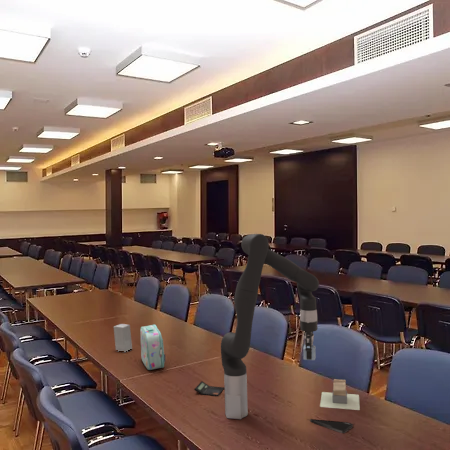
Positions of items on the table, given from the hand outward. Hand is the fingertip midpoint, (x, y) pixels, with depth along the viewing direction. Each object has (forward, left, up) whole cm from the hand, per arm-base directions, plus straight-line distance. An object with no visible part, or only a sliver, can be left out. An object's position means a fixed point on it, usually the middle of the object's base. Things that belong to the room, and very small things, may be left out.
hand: (309, 357), depth 204 cm
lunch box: (+26, +88, -18) cm, 94 cm away
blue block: (0, 0, 0) cm, 0 cm away
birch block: (-5, -13, -13) cm, 19 cm away
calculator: (-4, +46, -18) cm, 50 cm away
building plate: (-5, -13, -17) cm, 22 cm away
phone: (-26, -10, -18) cm, 33 cm away
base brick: (-5, -13, -17) cm, 22 cm away
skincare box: (+47, +117, -18) cm, 128 cm away
